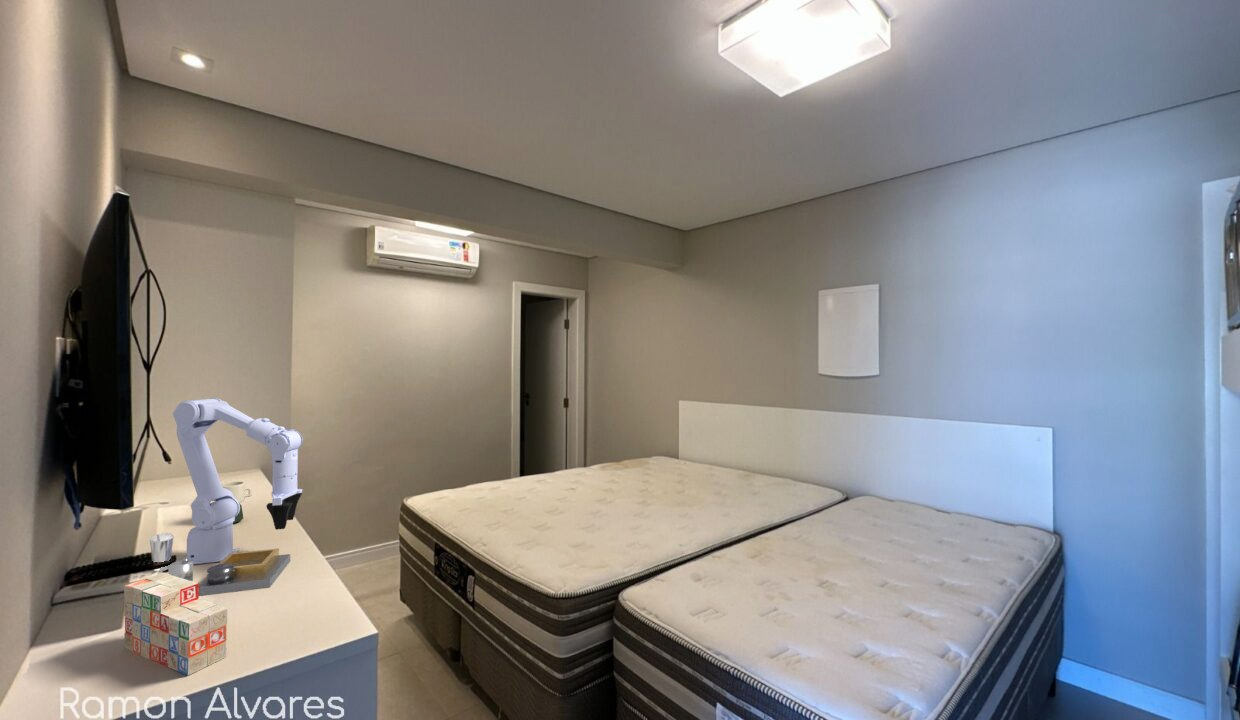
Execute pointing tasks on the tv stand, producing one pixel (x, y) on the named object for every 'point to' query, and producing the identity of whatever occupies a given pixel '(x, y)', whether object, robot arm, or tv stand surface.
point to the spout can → (182, 569)
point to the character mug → (238, 494)
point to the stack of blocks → (173, 623)
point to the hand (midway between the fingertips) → (284, 524)
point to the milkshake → (161, 548)
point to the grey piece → (245, 571)
